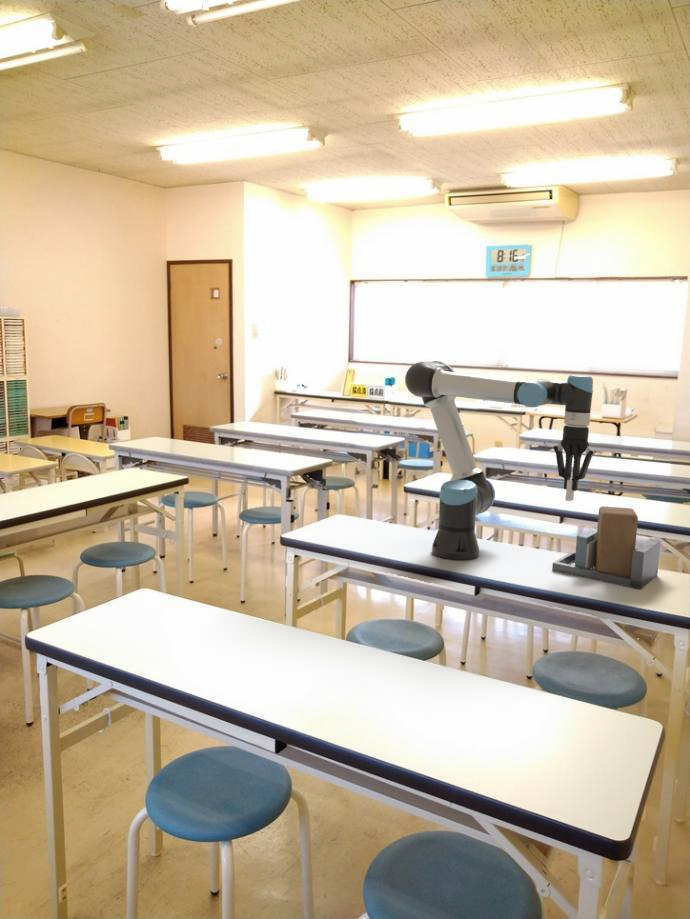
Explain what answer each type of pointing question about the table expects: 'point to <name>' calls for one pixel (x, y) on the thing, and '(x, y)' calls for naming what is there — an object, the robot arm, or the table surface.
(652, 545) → the vise bed
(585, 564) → the block
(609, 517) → the wooden block
